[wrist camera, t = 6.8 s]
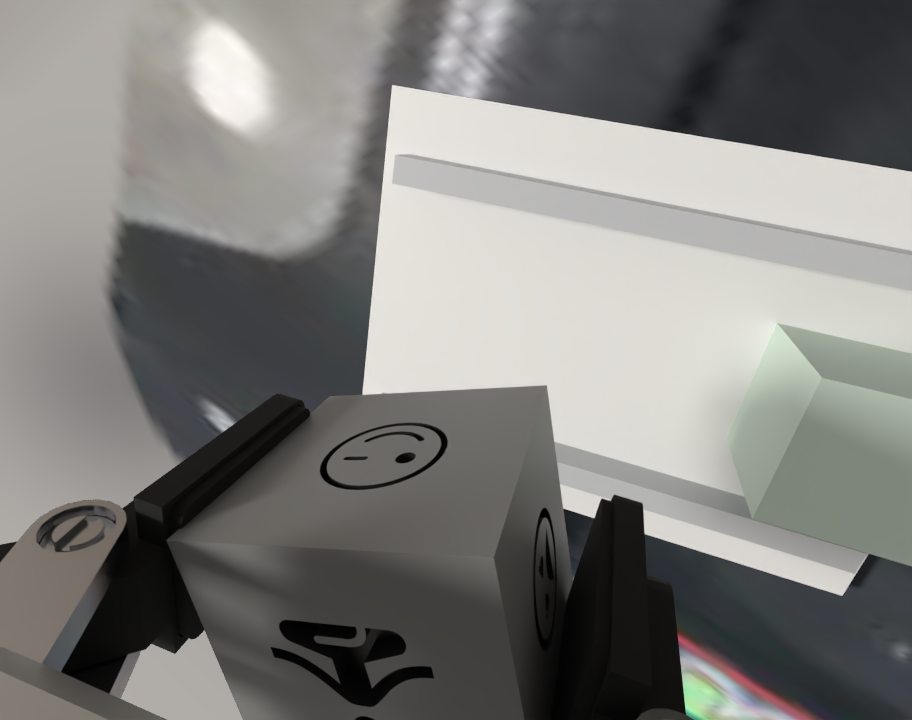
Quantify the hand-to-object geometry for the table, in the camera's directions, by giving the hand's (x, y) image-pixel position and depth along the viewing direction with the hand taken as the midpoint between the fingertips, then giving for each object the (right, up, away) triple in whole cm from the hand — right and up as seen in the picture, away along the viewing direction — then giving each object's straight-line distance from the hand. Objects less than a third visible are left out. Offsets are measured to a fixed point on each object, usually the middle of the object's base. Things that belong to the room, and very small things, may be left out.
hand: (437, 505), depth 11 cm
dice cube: (0, 0, +1) cm, 1 cm away
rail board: (+7, +4, +11) cm, 14 cm away
